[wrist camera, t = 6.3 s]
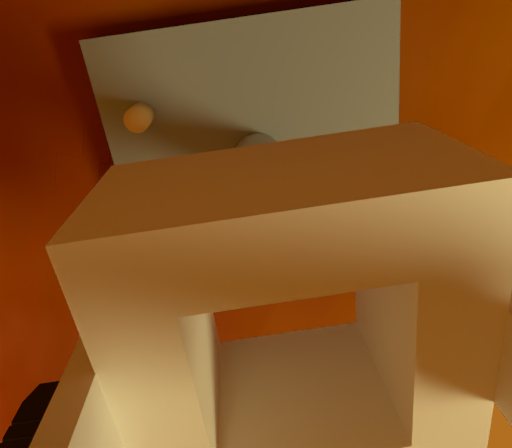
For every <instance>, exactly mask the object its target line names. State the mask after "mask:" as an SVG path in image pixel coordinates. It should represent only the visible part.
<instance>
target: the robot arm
mask: <svg viewBox="0 0 512 448" xmlns="http://www.w3.org/2000/svg"><path fill="white" fill-rule="evenodd" d="M494 403H495V404H496V406H497V407H498V408H499V410H500V411H501V413H502V414H503V415H504V417H505V418H506V419H507V421H508V422H509V423H510V425H511V426H512V291H511V298H510V304H509V311H508V312H507V319H506V325H505V332H504V338H503V344H502V351H501V357H500V364H499V370H498V377H497V383H496V389H495V396H494ZM0 448H125V447H124V444H123V442H122V439H121V437H120V434H119V432H118V429H117V426H116V424H115V421H114V419H113V416H112V414H111V411H110V409H109V406H108V403H107V401H106V398H105V396H104V393H103V391H102V388H101V386H100V383H99V380H98V378H97V375H96V373H94V370H93V367H92V365H91V362H90V360H89V357H88V355H87V352H86V350H85V347H84V344H83V342H82V339H81V337H80V339H79V341H78V343H77V345H76V347H75V349H74V352H73V354H72V356H71V358H70V360H69V362H68V364H67V367H66V369H65V371H64V373H63V375H62V377H61V379H60V381H56V382H49V383H42V384H39V385H38V386H37V387H36V389H35V390H34V391H33V392H32V393H31V394H30V395H29V396H28V397H27V398H26V399H25V400H24V401H23V402H22V404H21V406H20V407H19V409H18V411H17V413H16V415H15V417H14V419H13V420H12V425H11V426H9V428H8V430H7V432H6V433H5V435H4V437H3V442H2V443H0Z"/></svg>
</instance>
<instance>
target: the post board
mask: <svg viewBox="0 0 512 448" xmlns="http://www.w3.org/2000/svg"><path fill="white" fill-rule="evenodd" d="M400 6H401V0H355V1H348V2H341V3H335V4H328V5H321V6H314V7H307V8H300V9H293V10H286V11H279V12H272V13H265V14H258V15H251V16H244V17H237V18H230V19H223V20H216V21H209V22H202V23H196V24H189V25H182V26H175V27H168V28H161V29H154V30H147V31H140V32H133V33H126V34H119V35H112V36H105V37H98V38H91V39H84V40H79V43H80V47H81V50H82V54H83V57H84V61H85V64H86V68H87V71H88V75H89V78H90V82H91V85H92V89H93V92H94V96H95V99H96V103H97V106H98V110H99V113H100V117H101V120H102V124H103V127H104V131H105V134H106V138H107V141H108V145H109V148H110V152H111V155H112V159H113V162H114V165H120V164H127V163H133V162H140V161H147V160H154V159H161V158H168V157H175V156H181V155H188V154H195V153H202V152H209V151H216V150H223V149H230V148H236V147H243V146H250V145H257V144H264V143H271V142H278V141H284V140H291V139H298V138H305V137H312V136H319V135H326V134H332V133H339V132H346V131H353V130H360V129H367V128H374V127H381V126H387V125H394V124H399V68H400Z"/></svg>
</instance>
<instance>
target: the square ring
mask: <svg viewBox="0 0 512 448" xmlns="http://www.w3.org/2000/svg"><path fill="white" fill-rule="evenodd" d="M45 248H46V250H47V253H48V255H49V258H50V260H51V263H52V265H53V268H54V271H55V273H56V276H57V278H58V281H59V283H60V286H61V288H62V291H63V293H64V296H65V299H66V301H67V304H68V306H69V309H70V311H71V314H72V316H73V319H74V322H75V324H76V327H77V329H78V332H79V334H80V337H81V339H82V342H83V344H84V347H85V350H86V352H87V355H88V357H89V360H90V362H91V365H92V367H93V370H94V373H96V375H97V378H98V380H99V383H100V386H101V388H102V391H103V393H104V396H105V398H106V401H107V403H108V406H109V409H110V411H111V414H112V416H113V419H114V421H115V424H116V426H117V429H118V432H119V434H120V437H121V439H122V442H123V444H124V447H125V448H487V445H488V438H489V432H490V426H491V419H492V413H493V406H494V396H495V389H496V383H497V377H498V370H499V364H500V357H501V351H502V344H503V338H504V332H505V325H506V319H507V312H508V311H509V304H510V298H511V291H512V166H509V165H507V164H505V163H503V162H501V161H499V160H497V159H495V158H493V157H491V156H489V155H487V154H485V153H482V152H480V151H478V150H476V149H474V148H472V147H470V146H468V145H466V144H464V143H462V142H460V141H458V140H455V139H453V138H451V137H449V136H447V135H445V134H443V133H441V132H439V131H437V130H435V129H433V128H431V127H428V126H426V125H424V124H422V123H420V122H418V121H415V122H408V123H401V124H394V125H387V126H381V127H374V128H367V129H360V130H353V131H346V132H339V133H332V134H326V135H319V136H312V137H305V138H298V139H291V140H284V141H278V142H271V143H264V144H257V145H250V146H243V147H236V148H230V149H223V150H216V151H209V152H202V153H195V154H188V155H181V156H175V157H168V158H161V159H154V160H147V161H140V162H133V163H127V164H120V165H113V166H111V167H110V168H109V169H108V171H107V172H106V173H105V174H104V175H103V177H102V178H101V179H100V180H99V181H98V183H97V184H96V185H95V186H94V188H93V189H92V190H91V191H90V192H89V194H88V195H87V196H86V197H85V198H84V200H83V201H82V202H81V203H80V205H79V206H78V207H77V208H76V209H75V211H74V212H73V213H72V214H71V215H70V217H69V218H68V219H67V220H66V221H65V223H64V224H63V225H62V226H61V228H60V229H59V230H58V231H57V232H56V234H55V235H54V236H53V237H52V238H51V240H50V241H49V242H48V243H47V245H46V246H45ZM354 291H355V301H356V322H354V323H348V324H341V325H334V326H328V327H321V328H314V329H307V330H301V331H294V332H287V333H280V334H274V335H267V336H260V337H253V338H247V339H240V340H233V341H227V342H219V337H218V333H217V328H216V323H215V319H214V314H213V312H219V311H226V310H232V309H239V308H246V307H253V306H259V305H266V304H273V303H280V302H286V301H293V300H300V299H307V298H313V297H320V296H327V295H334V294H340V293H347V292H354Z"/></svg>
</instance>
